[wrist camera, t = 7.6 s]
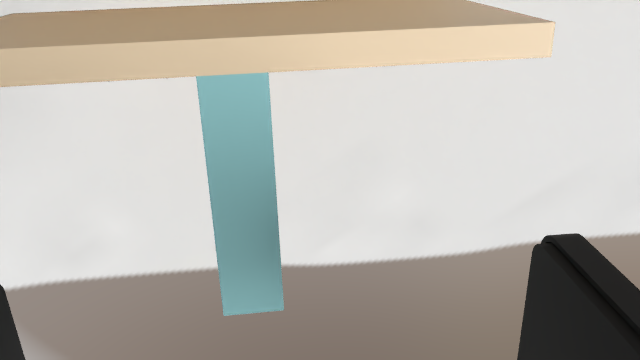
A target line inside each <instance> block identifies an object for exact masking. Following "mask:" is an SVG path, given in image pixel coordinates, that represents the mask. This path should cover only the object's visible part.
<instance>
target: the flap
mask: <svg viewBox="0 0 640 360" xmlns="http://www.w3.org/2000/svg"><path fill="white" fill-rule="evenodd" d="M554 30H555V22H553V21H549V20H545V19H540V18H536V17H532V16H528V15H524V14H520V13H516V12H512V11H508V10H504V9H500V8H496V7H492V6H488V5H484V4H480V3H476V2H471V1H467V0H318V1H294V2H271V3H247V4H224V5H201V6H177V7H154V8H130V9H107V10H84V11H60V12H37V13H13V14H9V15H5V16H2V17H0V87H10V86H28V85H46V84H65V83H83V82H102V81H120V80H138V79H157V78H175V77H194V76H196V79H197V88H198V96H199V105H200V114H201V123H202V131H203V140H204V149H205V157H206V166H207V175H208V183H209V192H210V201H211V209H212V218H213V227H214V236H215V244H216V253H217V262H218V270H219V279H220V288H221V296H222V305H223V313H224V316H227V315H236V314H247V313H258V312H269V311H280V310H284V304H283V288H282V274H281V258H280V243H279V228H278V213H277V197H276V182H275V167H274V152H273V137H272V121H271V106H270V91H269V76H268V72H286V71H304V70H322V69H341V68H359V67H378V66H396V65H415V64H433V63H451V62H470V61H488V60H507V59H525V58H543V57H551V54H552V46H553V38H554Z"/></svg>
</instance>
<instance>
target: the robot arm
mask: <svg viewBox="0 0 640 360" xmlns="http://www.w3.org/2000/svg"><path fill="white" fill-rule="evenodd" d="M0 360H25V357H24V354H23V350H22V348H21V344H20V341H19V337H18V334H17V330H16V327H15V324H14V321H13V317H12V314H11V311H10V307H9V304H8V301H7V297H6V294H5V291H4V288H3V287H2V286H1V285H0ZM517 360H640V290H639V289H638V288H637V287H635V286H634V284H633V283H631V282H630V281H629V280H628V279H627V278H626V277H625V276H624V275H623V274H622V273H621V272H620V271H619V270H618V269H617V268H616V267H615V266H614V265H612V264H611V263H610V262H609V261H608V260H607V259H606V258H605V257H604V256H603V255H602V254H601V253H600V252H599V251H598V250H597V249H596V248H594V247H593V246H592V245H591V244H590V243H589V242H588V241H587V240H586V239H585V238H584V237H583V236H581V235H580V234H561V235H548V236H545V237H544V238H543V240H542V242H541V244H537V245H535V246H534V248H533V251H532V257H531V265H530V272H529V279H528V286H527V294H526V301H525V308H524V316H523V322H522V330H521V337H520V344H519V352H518V358H517Z"/></svg>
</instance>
